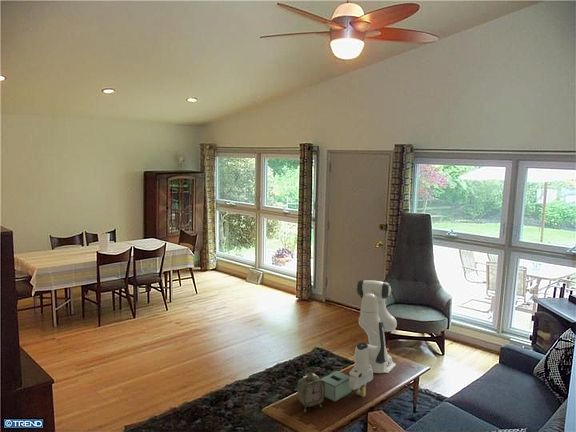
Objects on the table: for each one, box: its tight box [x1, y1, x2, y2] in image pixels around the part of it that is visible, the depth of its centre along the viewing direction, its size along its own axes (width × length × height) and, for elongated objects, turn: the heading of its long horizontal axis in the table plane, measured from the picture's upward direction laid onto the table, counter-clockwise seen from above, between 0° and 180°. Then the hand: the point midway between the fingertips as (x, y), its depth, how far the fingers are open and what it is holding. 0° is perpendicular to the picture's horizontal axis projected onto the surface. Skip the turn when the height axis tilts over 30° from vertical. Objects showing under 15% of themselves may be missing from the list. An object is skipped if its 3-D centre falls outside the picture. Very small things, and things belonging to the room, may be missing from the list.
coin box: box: [320, 370, 353, 403], centre depth 281 cm, size 16×12×10 cm
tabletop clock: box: [296, 366, 326, 413], centre depth 264 cm, size 14×9×25 cm, turn 119°
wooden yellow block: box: [356, 385, 367, 398], centre depth 279 cm, size 2×5×6 cm, turn 44°
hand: (361, 391), depth 280 cm, fingers closed on wooden yellow block, 2 cm apart
